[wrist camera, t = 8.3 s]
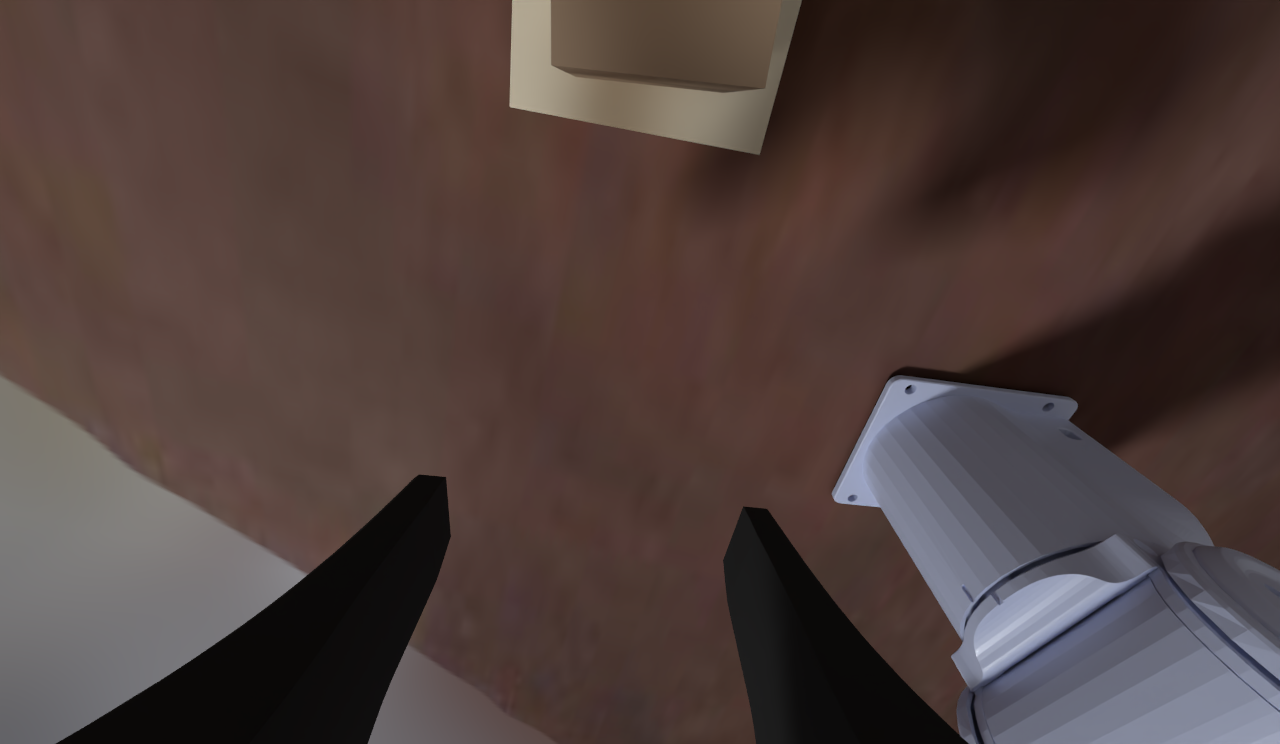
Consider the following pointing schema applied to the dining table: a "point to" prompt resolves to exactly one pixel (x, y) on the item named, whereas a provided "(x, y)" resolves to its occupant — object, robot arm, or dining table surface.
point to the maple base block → (641, 90)
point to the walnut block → (666, 41)
